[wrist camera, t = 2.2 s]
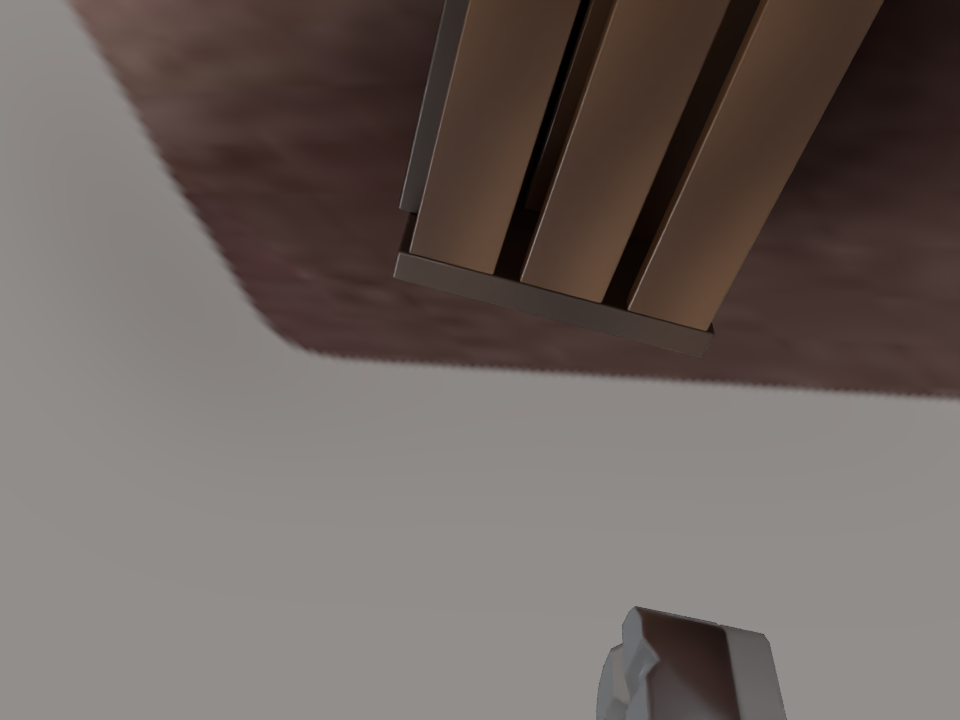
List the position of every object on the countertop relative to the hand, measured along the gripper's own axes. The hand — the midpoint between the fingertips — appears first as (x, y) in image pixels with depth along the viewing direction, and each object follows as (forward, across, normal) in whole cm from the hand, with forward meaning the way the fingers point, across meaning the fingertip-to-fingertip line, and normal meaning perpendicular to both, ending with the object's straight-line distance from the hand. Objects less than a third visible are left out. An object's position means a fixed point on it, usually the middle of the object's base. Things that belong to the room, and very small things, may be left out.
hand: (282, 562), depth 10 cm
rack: (+22, -4, -3) cm, 22 cm away
